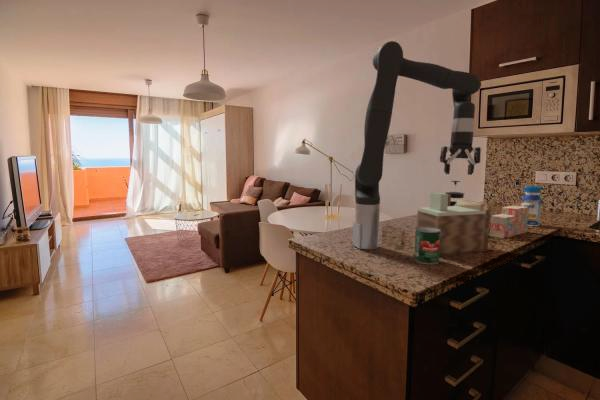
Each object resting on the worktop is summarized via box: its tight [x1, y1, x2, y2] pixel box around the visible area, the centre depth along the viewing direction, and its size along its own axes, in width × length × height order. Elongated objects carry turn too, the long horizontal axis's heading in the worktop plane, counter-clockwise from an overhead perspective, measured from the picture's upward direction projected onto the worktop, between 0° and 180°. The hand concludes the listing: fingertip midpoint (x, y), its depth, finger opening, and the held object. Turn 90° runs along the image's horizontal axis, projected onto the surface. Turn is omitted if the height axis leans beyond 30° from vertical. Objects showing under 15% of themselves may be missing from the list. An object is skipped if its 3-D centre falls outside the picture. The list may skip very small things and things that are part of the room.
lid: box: [417, 192, 486, 216], centre depth 121 cm, size 20×12×9 cm, turn 104°
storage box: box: [416, 210, 486, 257], centre depth 122 cm, size 20×12×14 cm, turn 104°
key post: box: [483, 208, 491, 252], centre depth 125 cm, size 4×8×16 cm, turn 14°
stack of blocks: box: [489, 205, 529, 239], centre depth 148 cm, size 21×6×12 cm, turn 123°
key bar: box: [456, 199, 488, 211], centre depth 123 cm, size 3×12×2 cm, turn 14°
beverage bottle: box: [520, 185, 543, 227], centre depth 166 cm, size 8×8×20 cm
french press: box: [444, 180, 465, 206], centre depth 164 cm, size 12×9×23 cm
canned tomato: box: [413, 226, 441, 265], centre depth 110 cm, size 8×8×11 cm
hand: (458, 174), depth 125 cm, fingers open, 8 cm apart
